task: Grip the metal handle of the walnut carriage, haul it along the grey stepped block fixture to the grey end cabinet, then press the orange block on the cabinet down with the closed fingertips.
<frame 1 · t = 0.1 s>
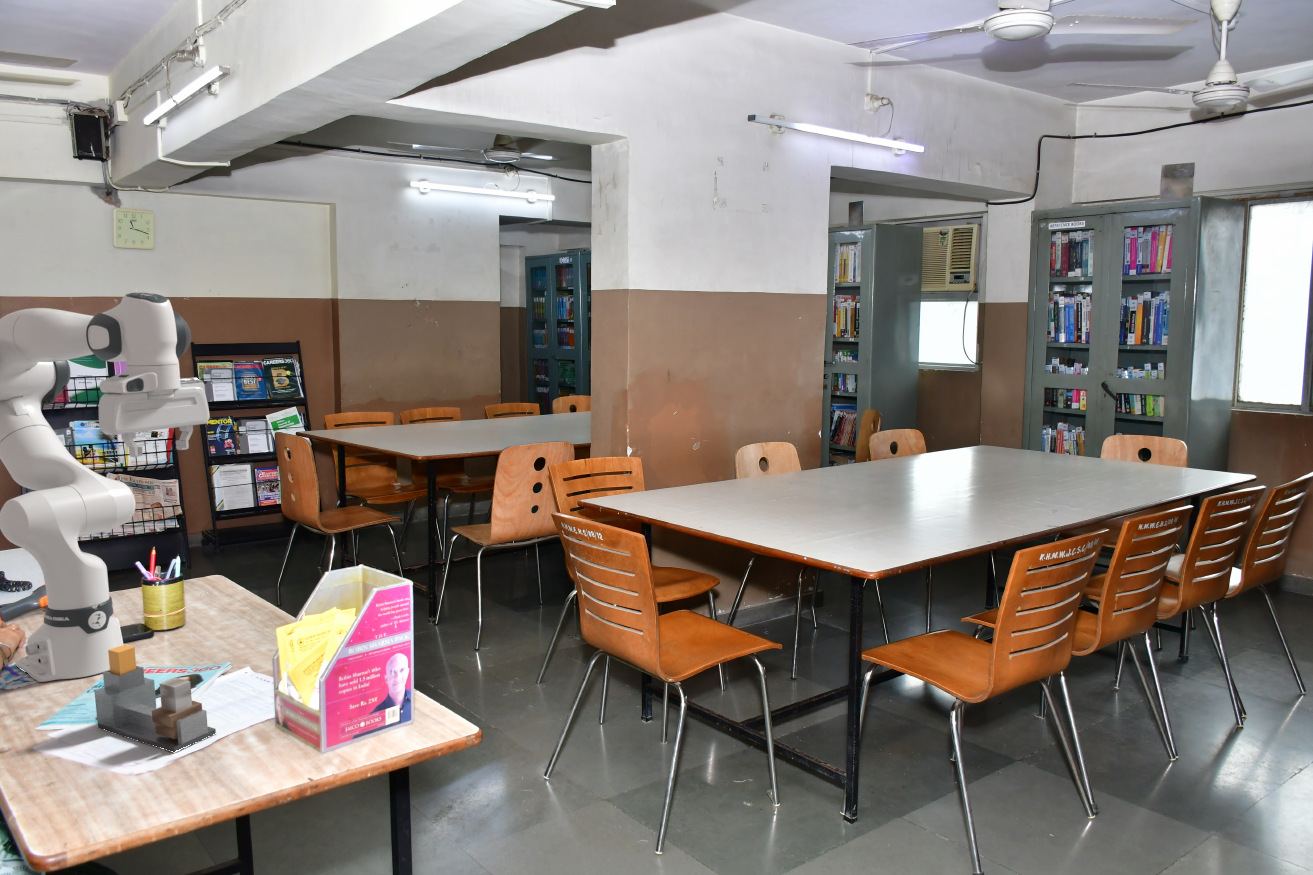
hand: (159, 452, 176), 48 cm above the table, tool pointing down, fingers open, 8 cm apart
grey stepped block fixture: (154, 730, 166), on the table
orange block: (122, 661, 168), point 12 cm above the table, slide at 0.0 cm
carriage: (176, 706, 162), point 6 cm above the table, slide at 0.0 cm
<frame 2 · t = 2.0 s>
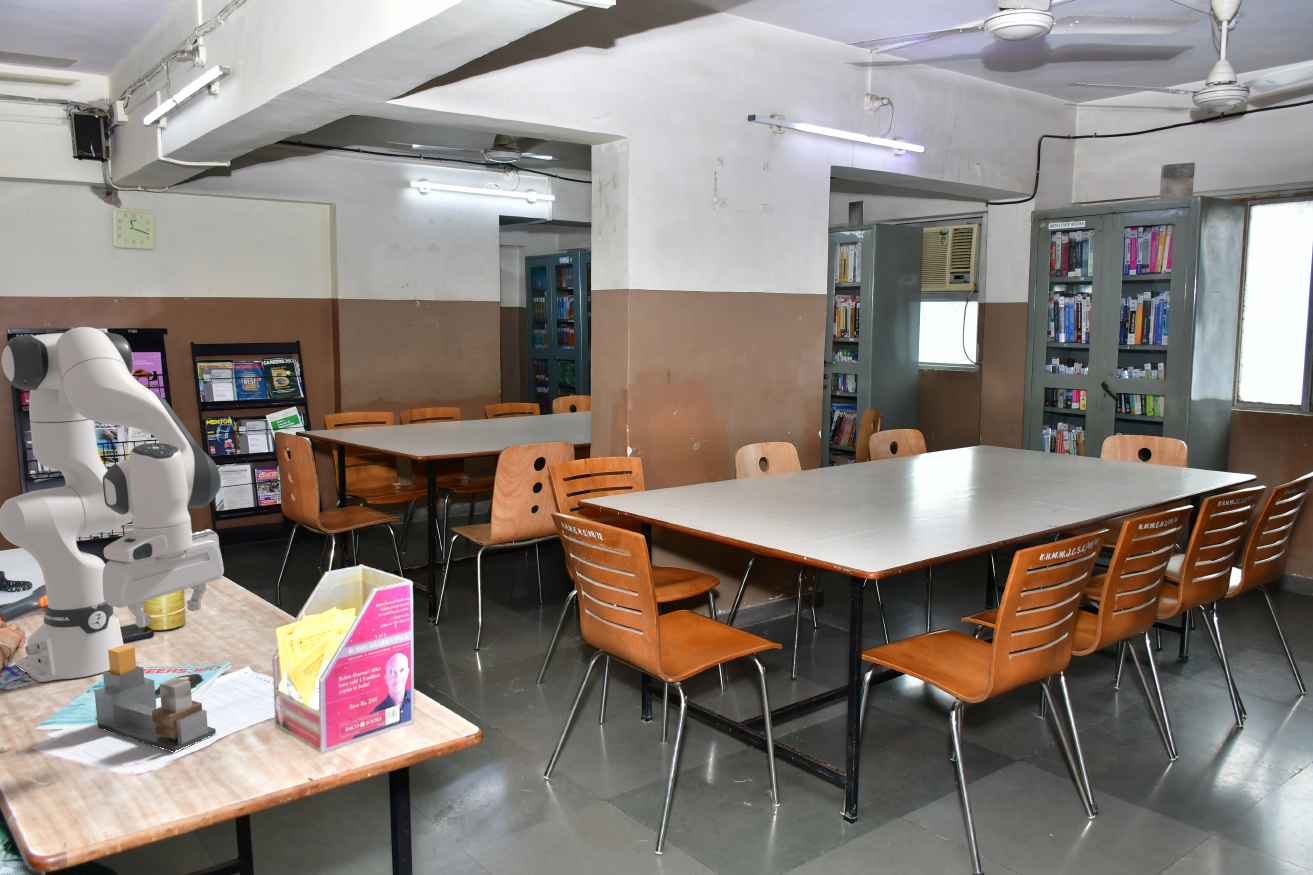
hand: (169, 617, 160), 22 cm above the table, tool pointing down, fingers open, 8 cm apart
nothing on the table moved.
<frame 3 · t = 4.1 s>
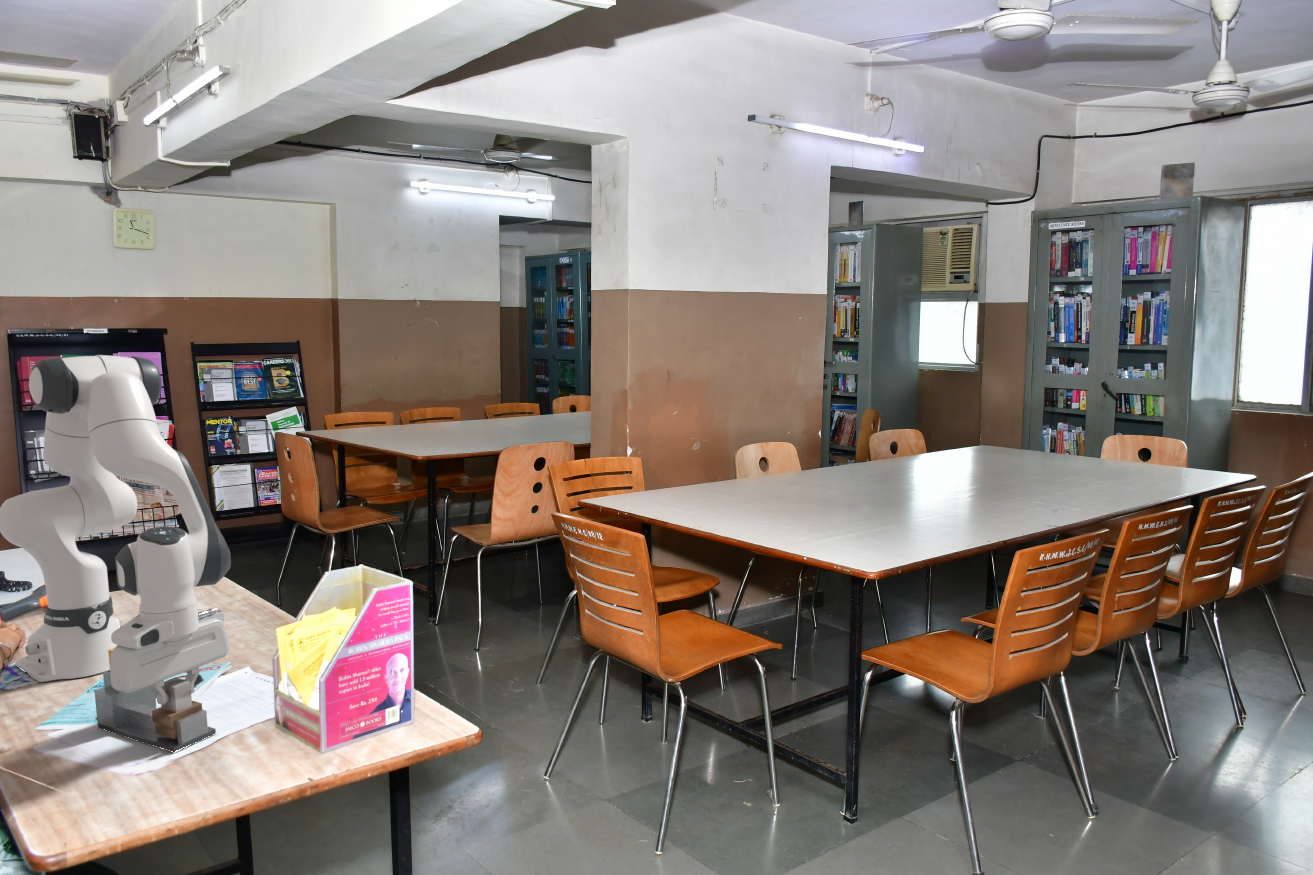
hand: (176, 698, 162), 7 cm above the table, tool pointing down, fingers closed on carriage, 3 cm apart
carriage: (176, 706, 162), point 6 cm above the table, slide at 0.0 cm, touching gripper
everything else where it was.
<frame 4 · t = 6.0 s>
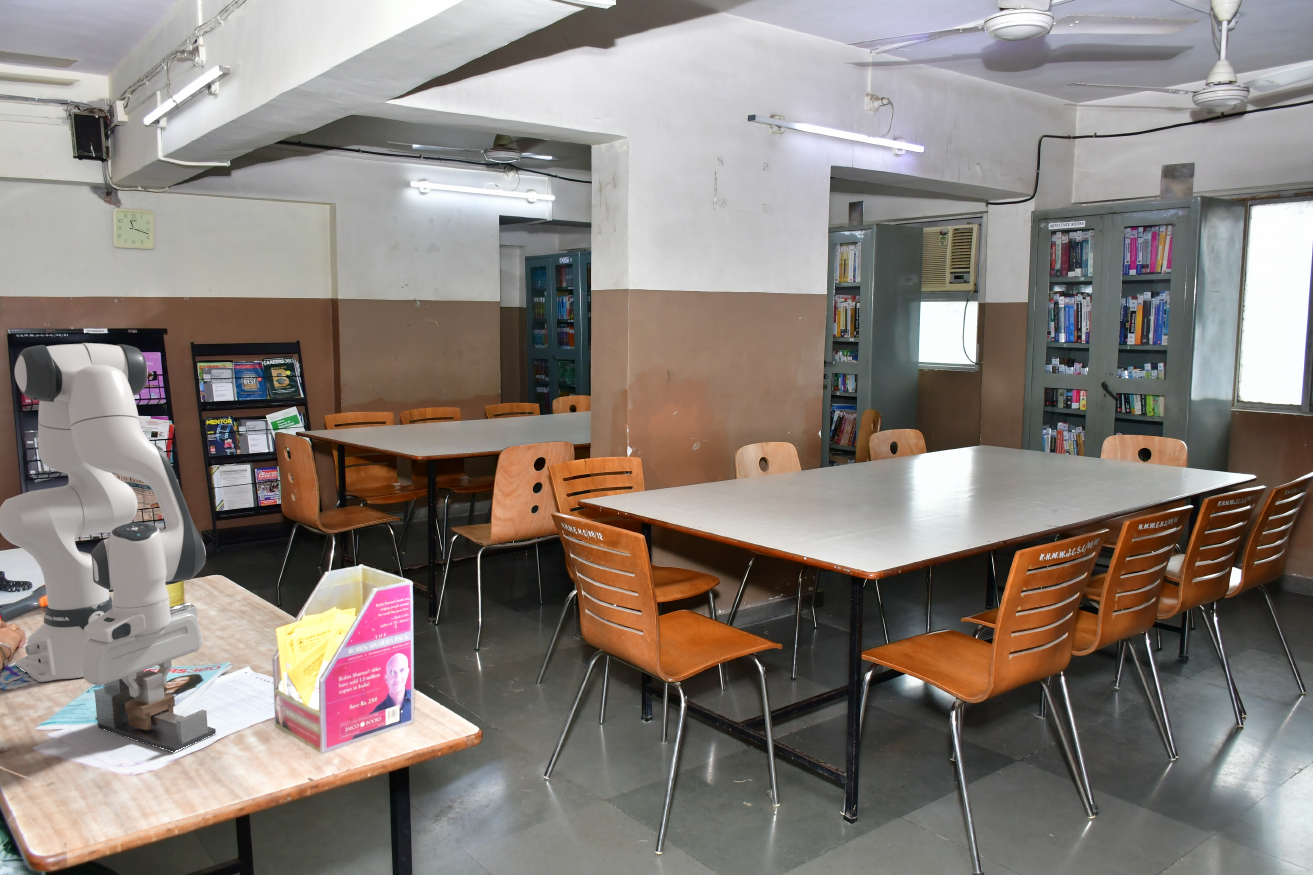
hand: (148, 690, 166), 7 cm above the table, tool pointing down, fingers closed on carriage, 3 cm apart
carriage: (149, 698, 166), point 6 cm above the table, slide at 7.5 cm, touching gripper
everything else where it was.
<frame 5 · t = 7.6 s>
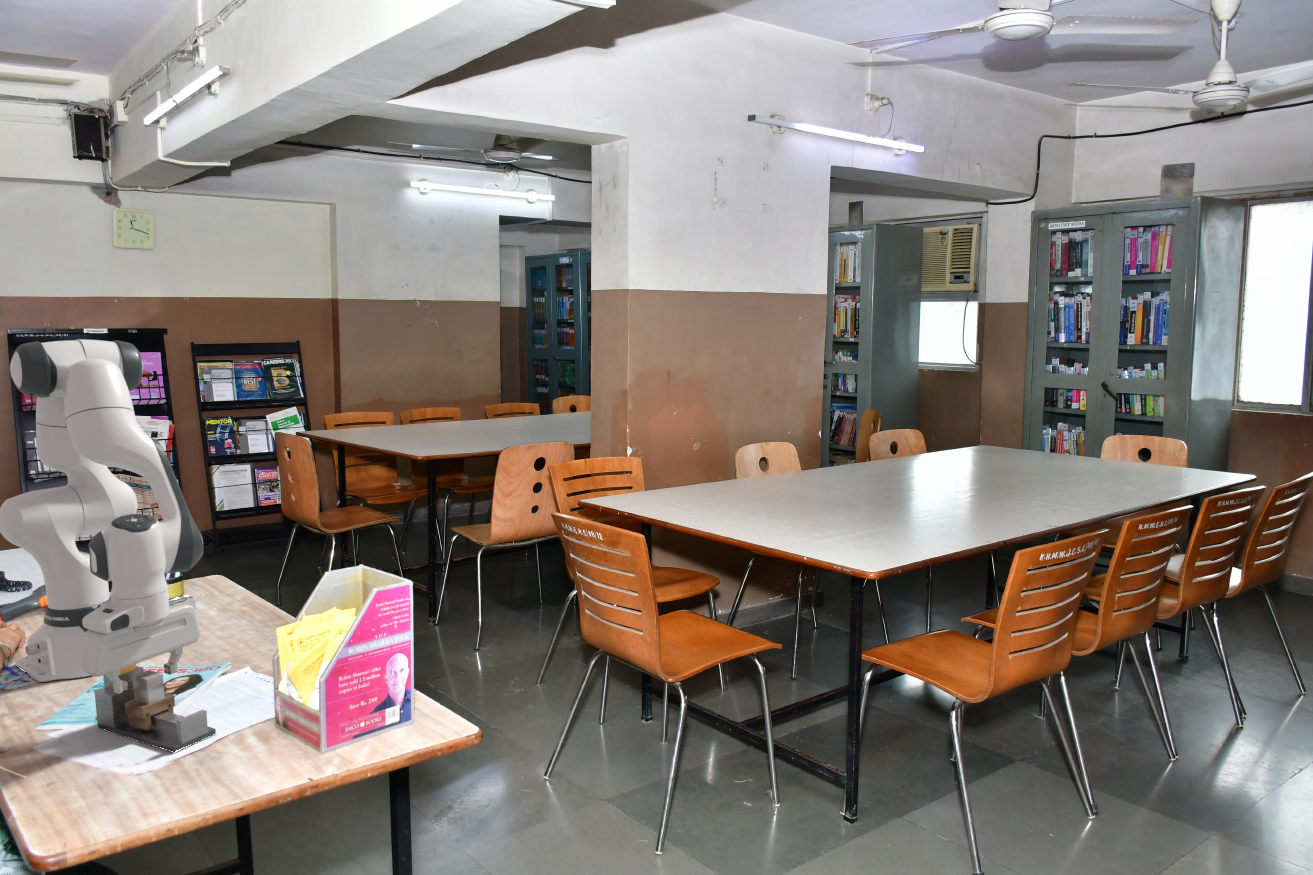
hand: (146, 681, 166), 9 cm above the table, tool pointing down, fingers open, 8 cm apart
carriage: (149, 698, 166), point 6 cm above the table, slide at 7.5 cm
everything else where it was.
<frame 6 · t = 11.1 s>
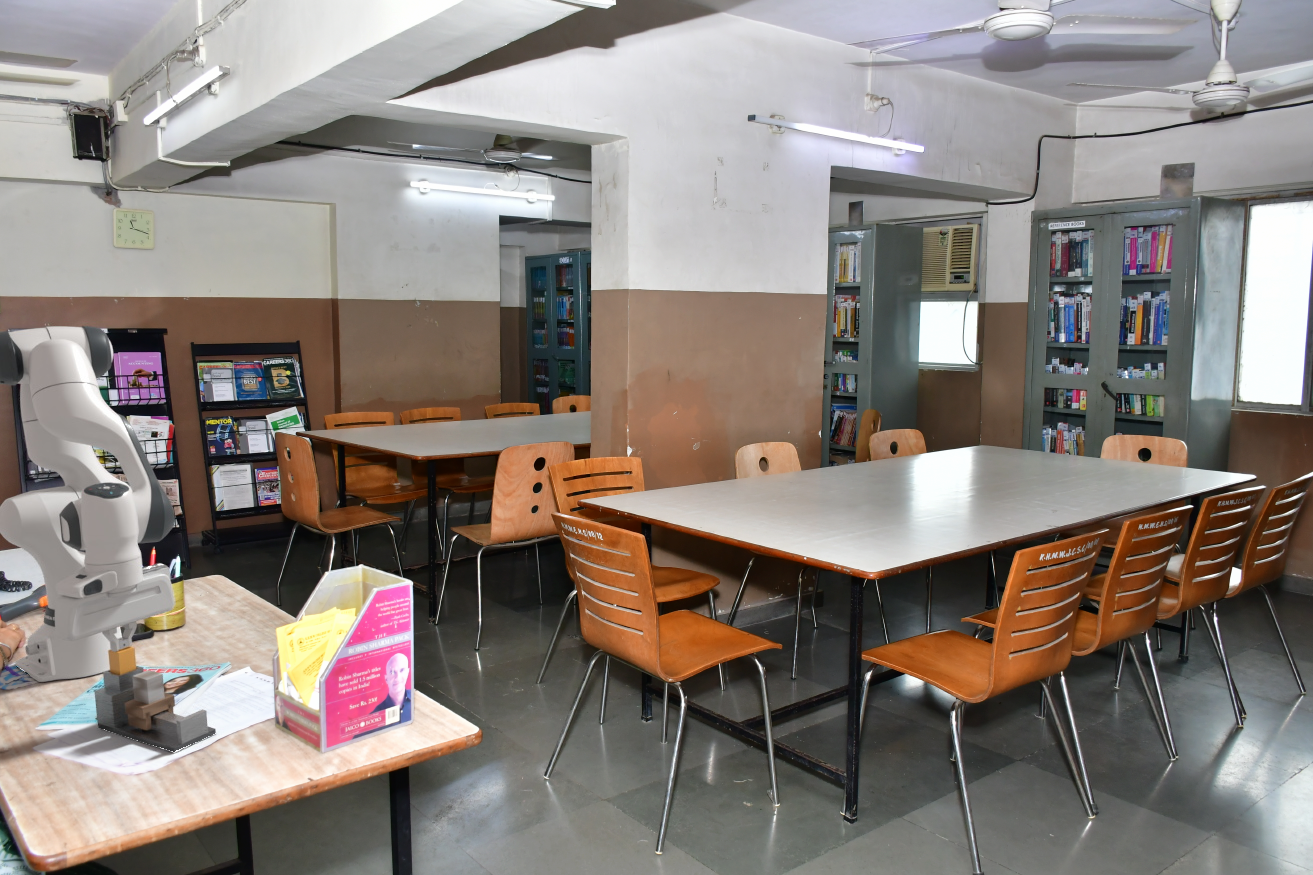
hand: (121, 648, 168), 14 cm above the table, tool pointing down, fingers closed, pressing on orange block
orange block: (122, 661, 168), point 11 cm above the table, slide at 0.1 cm, touching gripper
everything else where it was.
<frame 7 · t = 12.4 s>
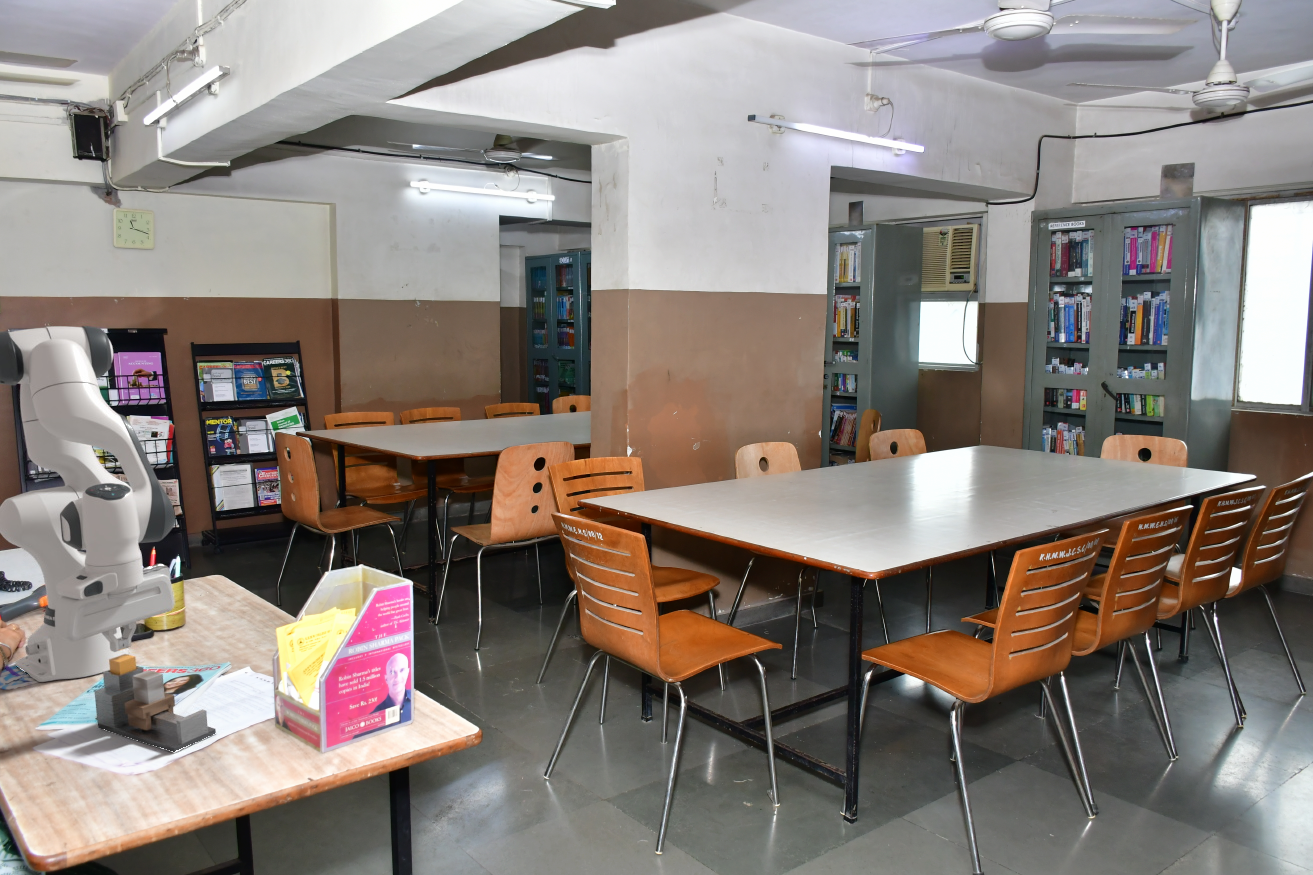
hand: (120, 648, 168), 14 cm above the table, tool pointing down, fingers closed
orange block: (123, 671, 169), point 10 cm above the table, slide at 1.8 cm
everything else where it was.
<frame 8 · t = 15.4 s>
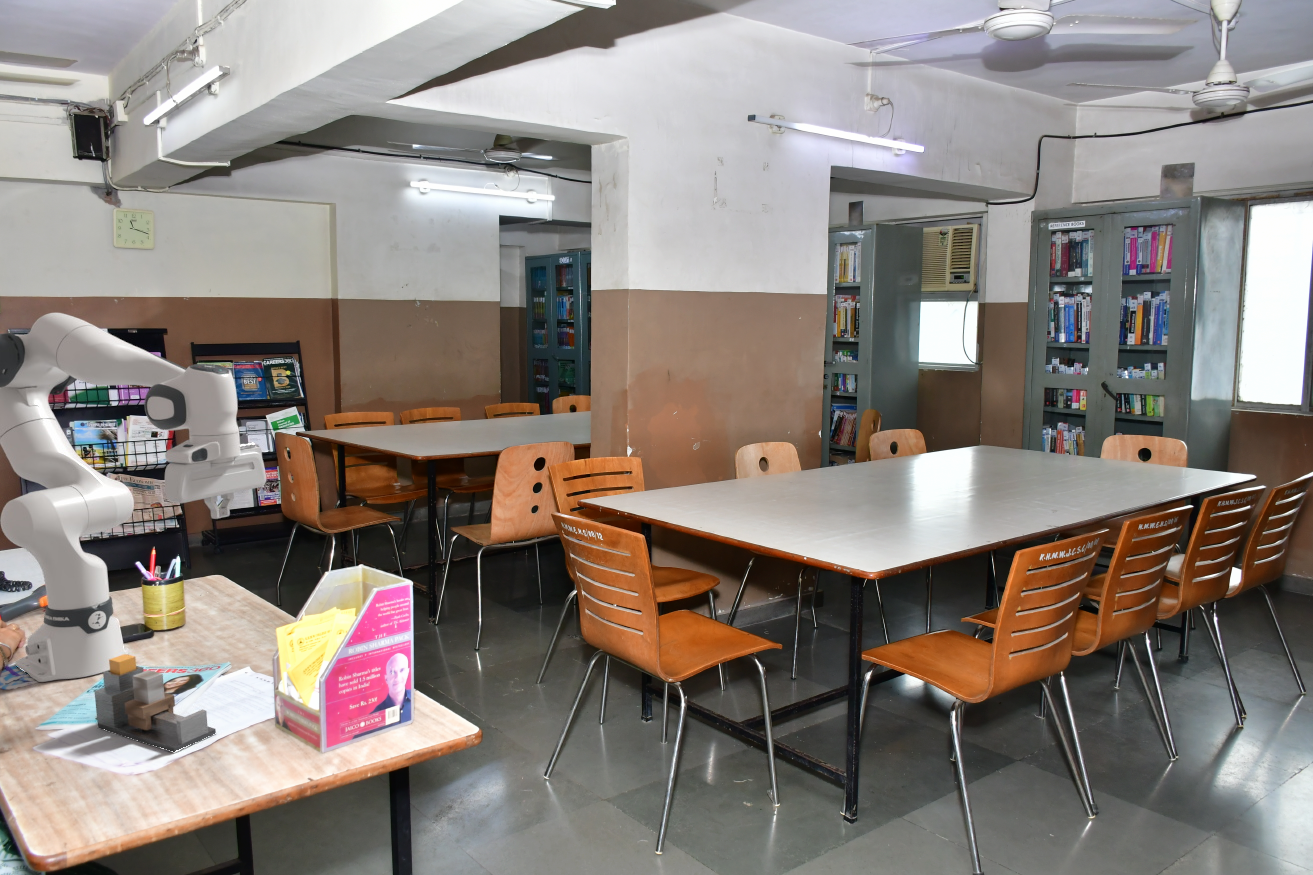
hand: (220, 517, 183), 34 cm above the table, tool pointing down, fingers closed
nothing on the table moved.
at the end: carriage slide at 7.5 cm; orange block slide at 1.8 cm; the gripper is holding nothing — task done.
